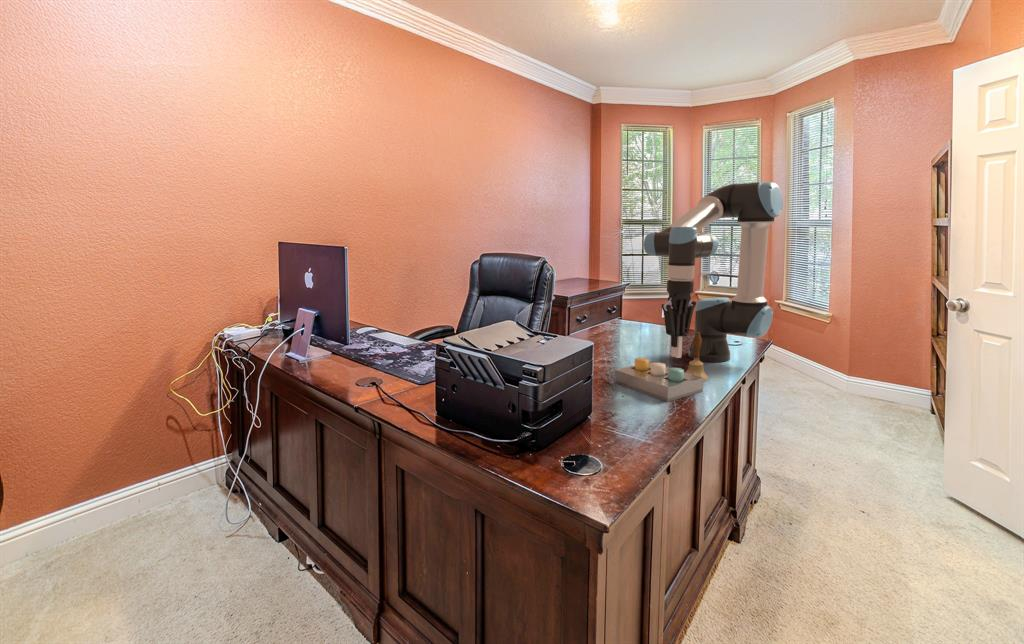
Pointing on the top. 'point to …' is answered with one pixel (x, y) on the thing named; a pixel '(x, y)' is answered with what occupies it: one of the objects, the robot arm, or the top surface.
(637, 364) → the amber button
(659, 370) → the ivory button
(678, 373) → the teal button
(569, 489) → the top surface
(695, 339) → the hand bell
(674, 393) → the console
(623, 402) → the top surface
